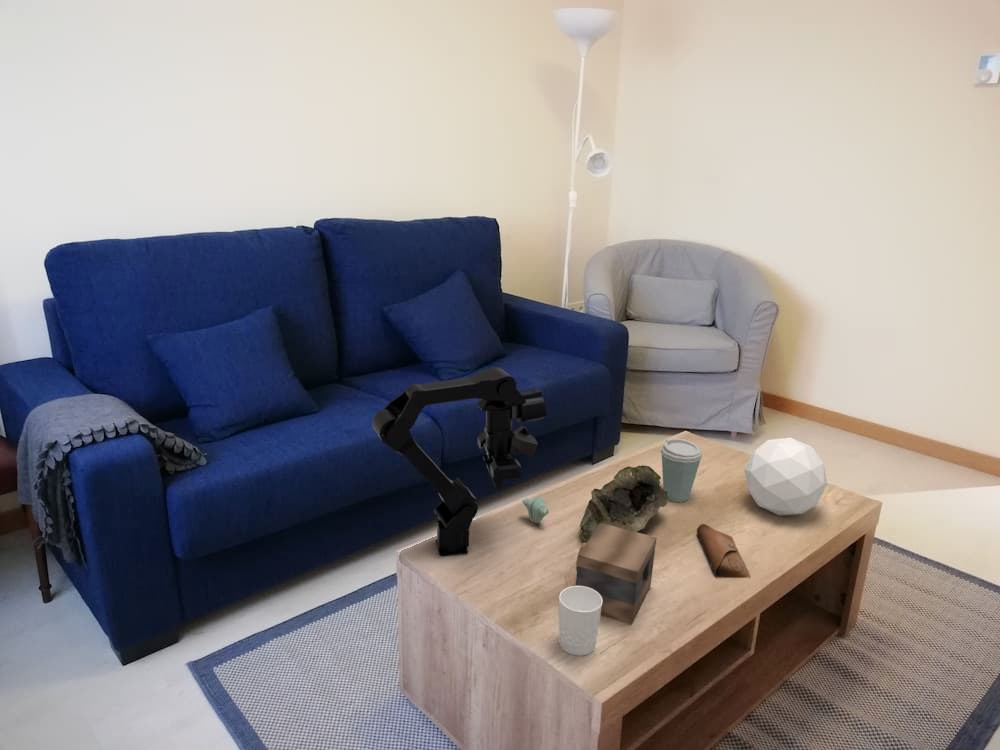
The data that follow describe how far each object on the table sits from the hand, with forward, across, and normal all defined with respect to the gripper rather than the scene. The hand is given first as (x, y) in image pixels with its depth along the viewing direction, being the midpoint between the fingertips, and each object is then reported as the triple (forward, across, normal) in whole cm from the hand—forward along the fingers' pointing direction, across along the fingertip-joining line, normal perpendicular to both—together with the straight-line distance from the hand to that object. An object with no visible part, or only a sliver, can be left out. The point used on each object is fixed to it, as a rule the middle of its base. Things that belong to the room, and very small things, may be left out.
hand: (498, 488), depth 166 cm
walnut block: (+13, -26, -19) cm, 34 cm away
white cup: (+13, -38, -7) cm, 41 cm away
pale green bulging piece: (+14, +6, -11) cm, 18 cm away
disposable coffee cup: (+15, +13, -51) cm, 54 cm away
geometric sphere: (+16, +3, -75) cm, 76 cm away
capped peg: (+10, -25, -18) cm, 32 cm away
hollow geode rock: (+14, 0, -31) cm, 35 cm away
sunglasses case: (+15, -15, -49) cm, 54 cm away
